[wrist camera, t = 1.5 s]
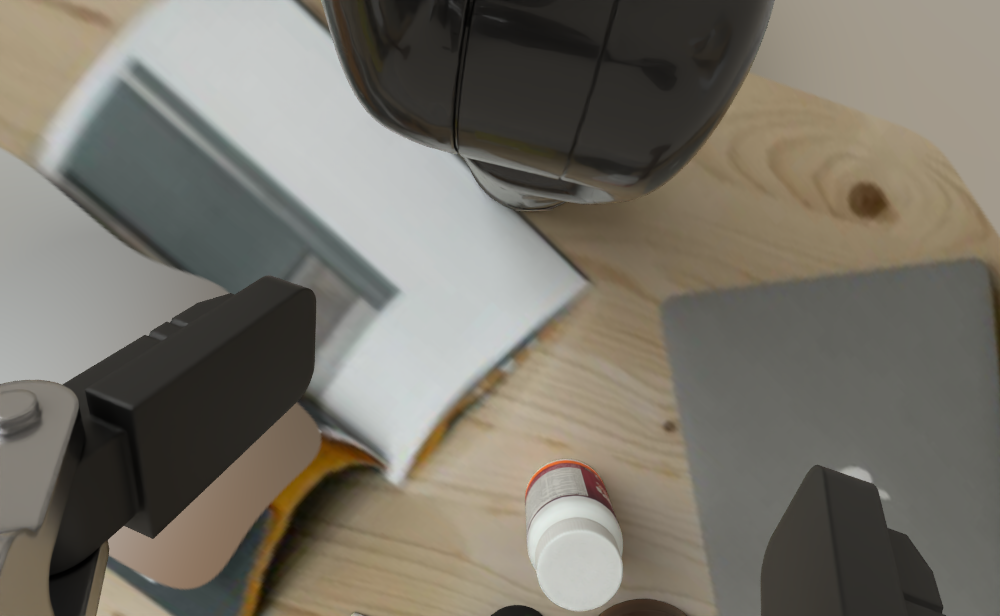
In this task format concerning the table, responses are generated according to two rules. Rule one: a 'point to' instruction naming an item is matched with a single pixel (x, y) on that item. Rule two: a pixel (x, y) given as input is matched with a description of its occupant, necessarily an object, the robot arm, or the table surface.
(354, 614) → the crayon box
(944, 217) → the table surface
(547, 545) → the pill bottle
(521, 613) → the cup
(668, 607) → the goblet stand
